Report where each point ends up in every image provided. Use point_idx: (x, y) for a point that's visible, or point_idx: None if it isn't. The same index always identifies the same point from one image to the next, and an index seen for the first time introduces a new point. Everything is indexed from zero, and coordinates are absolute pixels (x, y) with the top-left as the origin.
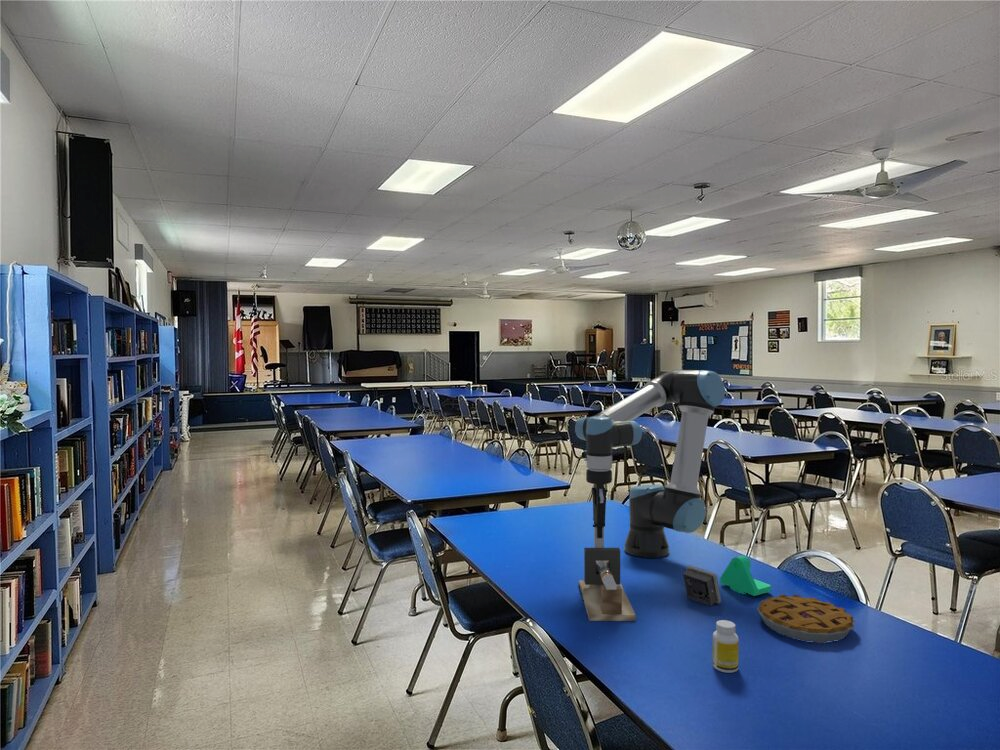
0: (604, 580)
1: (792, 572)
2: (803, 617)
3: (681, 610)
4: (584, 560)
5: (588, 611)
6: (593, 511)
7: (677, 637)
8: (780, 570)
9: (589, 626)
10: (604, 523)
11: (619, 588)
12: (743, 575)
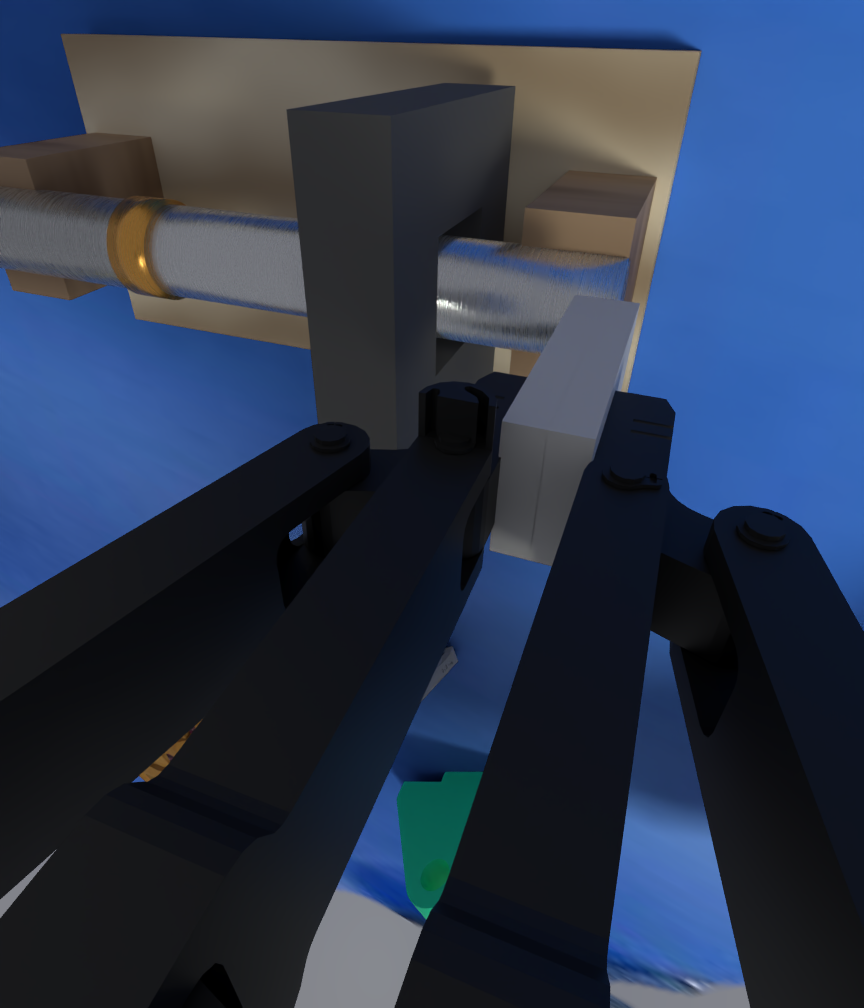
0: (54, 203)
1: (629, 974)
2: (165, 753)
3: (293, 534)
4: (439, 100)
5: (103, 36)
6: (803, 669)
7: (68, 414)
8: (657, 970)
9: (26, 22)
10: (288, 560)
11: (23, 281)
12: (419, 839)
